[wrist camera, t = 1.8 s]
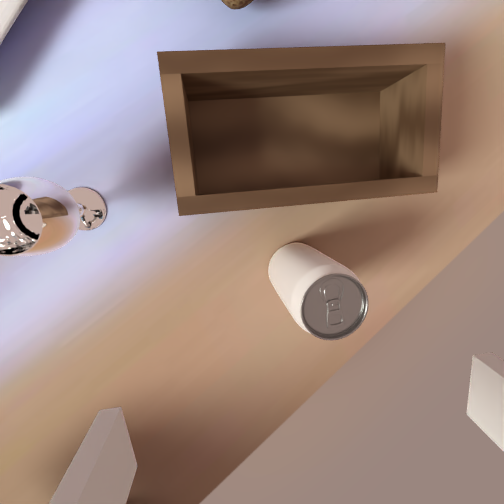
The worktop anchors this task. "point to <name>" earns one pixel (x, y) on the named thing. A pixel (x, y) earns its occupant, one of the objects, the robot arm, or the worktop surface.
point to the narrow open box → (302, 124)
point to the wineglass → (44, 215)
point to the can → (318, 291)
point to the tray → (9, 15)
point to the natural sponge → (236, 3)
